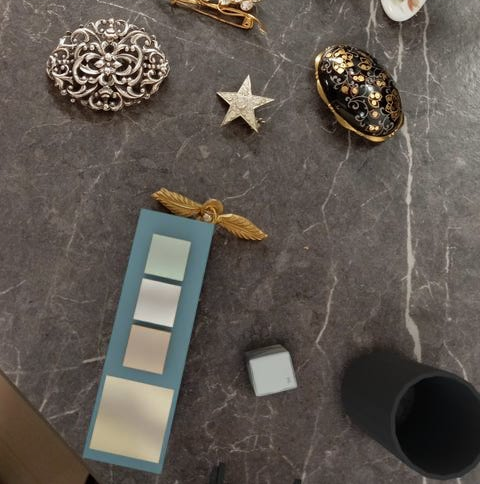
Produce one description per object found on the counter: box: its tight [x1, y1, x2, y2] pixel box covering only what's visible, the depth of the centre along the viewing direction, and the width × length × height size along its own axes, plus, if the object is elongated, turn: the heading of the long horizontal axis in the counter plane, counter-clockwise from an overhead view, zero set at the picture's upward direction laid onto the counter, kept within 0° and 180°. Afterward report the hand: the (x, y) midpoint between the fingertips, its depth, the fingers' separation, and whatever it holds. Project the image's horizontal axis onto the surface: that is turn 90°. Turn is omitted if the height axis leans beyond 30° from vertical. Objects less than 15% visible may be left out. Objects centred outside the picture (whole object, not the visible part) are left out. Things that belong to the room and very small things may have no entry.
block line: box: [89, 233, 191, 463], centre depth 90 cm, size 22×7×4 cm, turn 168°
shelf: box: [81, 207, 216, 475], centre depth 106 cm, size 25×8×28 cm, turn 168°
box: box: [244, 343, 298, 397], centre depth 113 cm, size 5×4×13 cm
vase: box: [340, 350, 480, 482], centre depth 104 cm, size 10×10×30 cm
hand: (258, 474), depth 100 cm, fingers open, 8 cm apart
